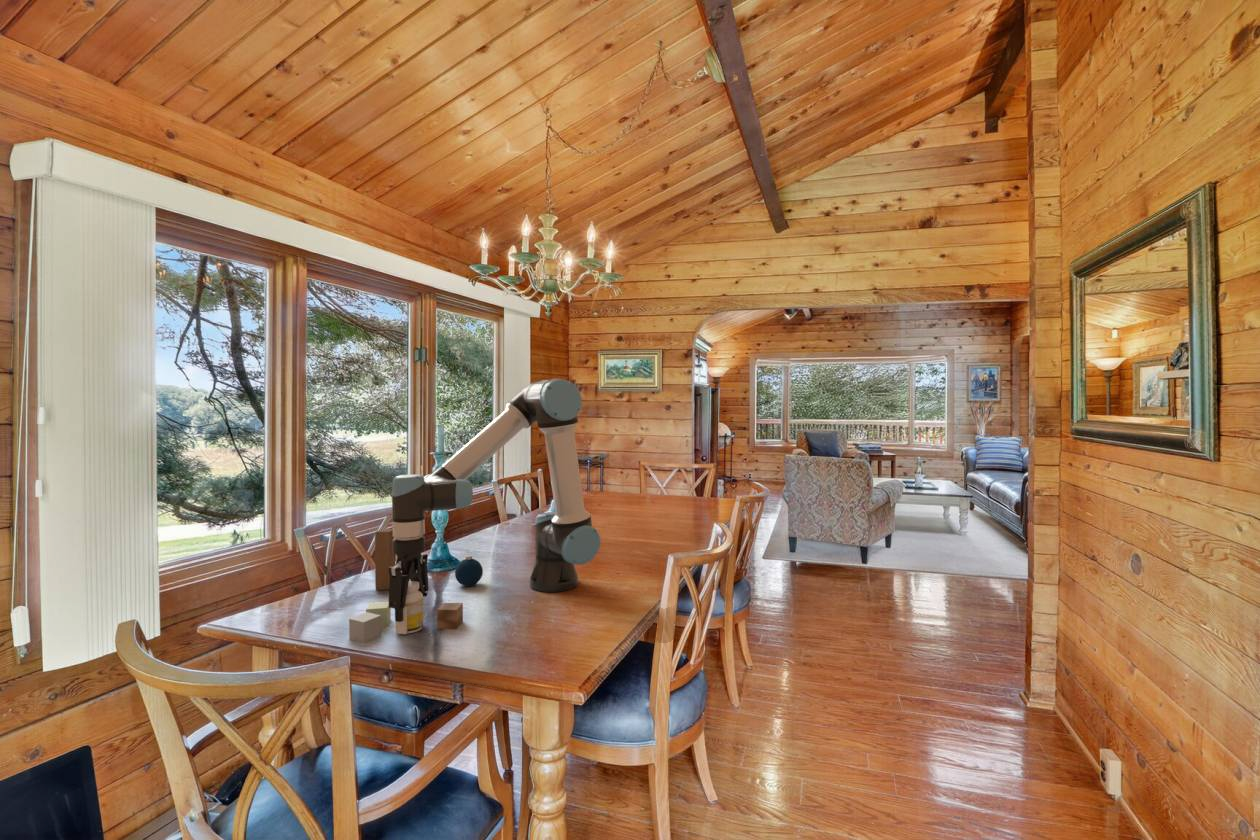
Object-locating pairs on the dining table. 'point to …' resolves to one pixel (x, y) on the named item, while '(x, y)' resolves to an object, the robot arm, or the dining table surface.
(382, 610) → the sage cube
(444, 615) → the walnut cube
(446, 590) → the dining table surface
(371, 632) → the taupe cube
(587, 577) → the dining table surface
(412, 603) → the pill bottle
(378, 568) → the wooden block
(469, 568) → the christmas ornament
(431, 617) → the dining table surface
